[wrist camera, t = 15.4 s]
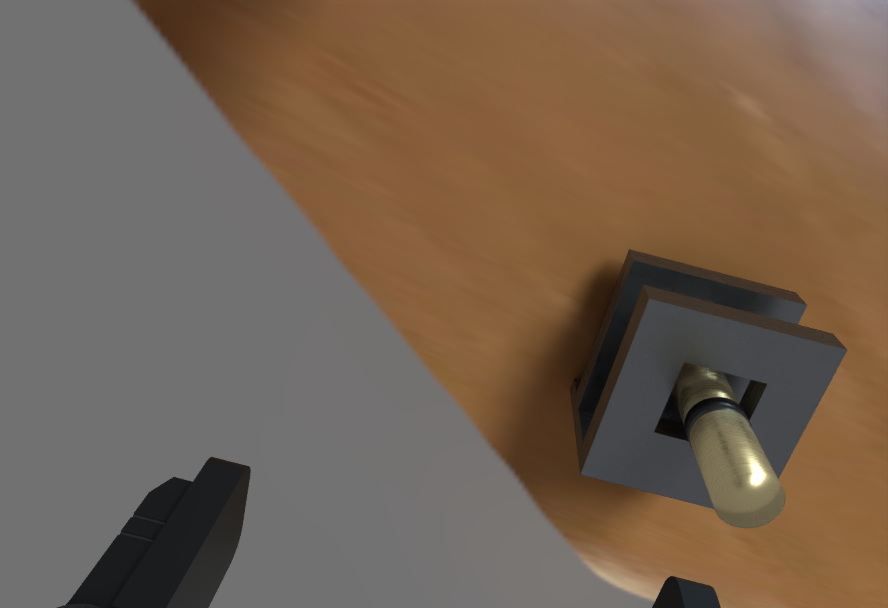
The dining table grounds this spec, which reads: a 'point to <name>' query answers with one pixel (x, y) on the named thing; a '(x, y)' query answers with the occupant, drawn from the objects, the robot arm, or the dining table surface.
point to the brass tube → (727, 449)
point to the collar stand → (702, 344)
